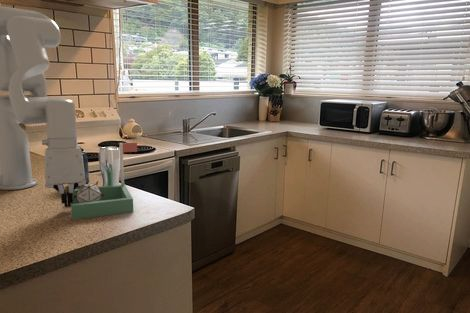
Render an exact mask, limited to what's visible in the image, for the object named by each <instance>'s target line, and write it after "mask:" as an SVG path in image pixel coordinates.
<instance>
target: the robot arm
mask: <svg viewBox="0 0 470 313" xmlns="http://www.w3.org/2000/svg"><path fill="white" fill-rule="evenodd" d="M61 41H62V35H61V31H60V28H59V25H58V24H57V23H56V22H55V21H54V20H53V19H52V18H50V17H48V15H47V16H46V15H45V14H43V13H41V12H39V11H36V10H29V9H22V8H16V7H10V6H4V5H0V91H1V92H8V95H1V96H0V190H1V191H2V190H4V191H5V190H6V191H12V190H22V189H28V188H31V187H34V186H36V185H37V184H38V179H37V178H34V177H33V173H32V164H31V154H30V153H31V152H30V144H29V135H28V133H27V132H26V131H25V129H24V128H22V127H21V125H20V124H22V125H41V124H45V125H46V136H47V138H46V139H42V140H41V145H42V146H46V147H47V148H45V150H44V158H43V159H44V180H45V185H44V187H45V188H47V189H54V190H56V191H57V192H58V193H59V194H60V197H61V198H60V199H61V204H62V205H63V204H64V208H67V207H70V208H71V204H74V203H73V195H72V193H73V191H74V190H75V189H78V188H77V187H78V186H81V185H84V184H86V180H85V172H84V163H83V156H82V152H83V151H82V148H81V147H80V146H78V145H79V144H78V132H77V131H78V130H77V120H76V117H77V116H76V106H75V105H76V104H75V102H74V101H73V100H72V99H68V98H63V97H60V96H59V97H58V96H48V93H47V92H48V89H47V78H46V74H45V72H46V71H48V70H49V69H50V66H51V63H50V59H49V56H48V52H47V50H46V48H54V49H55V48H57V47H58V46H59V45H61V44H60V43H61ZM24 92H27V93H29V95H28V94H27V95H25V93H24ZM64 185H68V188H67V191H66V189H65V186H64Z"/></svg>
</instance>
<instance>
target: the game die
mask: <svg viewBox="0 0 470 313" xmlns="http://www.w3.org/2000/svg"><path fill="white" fill-rule="evenodd" d="M98 184H99V181H96V182H95V183H88V184H84V185H81V186H80V187H79V188H77V189H78V191H77V194H76V195H74V197H73V198H74V199H75V198H76V199H77V202H78V203H85V202H94V201H101V200H100V199H101V197H103V195H105V194H102V193H101V191H100V190H99V188H98V187H99V185H98Z"/></svg>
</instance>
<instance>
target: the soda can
mask: <svg viewBox="0 0 470 313" xmlns="http://www.w3.org/2000/svg"><path fill="white" fill-rule="evenodd" d="M82 156H83V163H84V172H85V180H86V184H90V183H89V182H90V174H89V160H88V159H89V158H88V156H87V153H86V152H85V151H82ZM79 187H80V186H78V187H77V188H76V189H79Z"/></svg>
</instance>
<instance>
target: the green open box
mask: <svg viewBox="0 0 470 313" xmlns="http://www.w3.org/2000/svg"><path fill="white" fill-rule="evenodd" d="M118 144H119V150H120V184H119V185H114V186H103V185H102V186H103V187H102V186H98V188H99V190H100V191H101V193H102V194H105V195H103V197H101V199H100V201H94V202H85V203H78V202H77V199H76V198H75V199H74V198H73V203H71V206H70V209H71V210H70V211H71V220H79V219H87V218H94V217H95V218H96V217H104V216H105V217H106V216H111V215H120V214H127V213H134V199H133V196H132V195H131V192H130V191H129V189H128V188H127V185H126V184H125V175H124V174H125V173H124V172H125V170H124V168H125V167H124V153H130V152H131V153H132V152H135V153H137V152H138V142H133V141H132V142H119V143H118ZM78 189H79V188H76V189H75V190H74V191H73V193H72V195H73V197H74V195H76V194H77V191H78ZM115 198H116V199H115Z"/></svg>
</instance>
